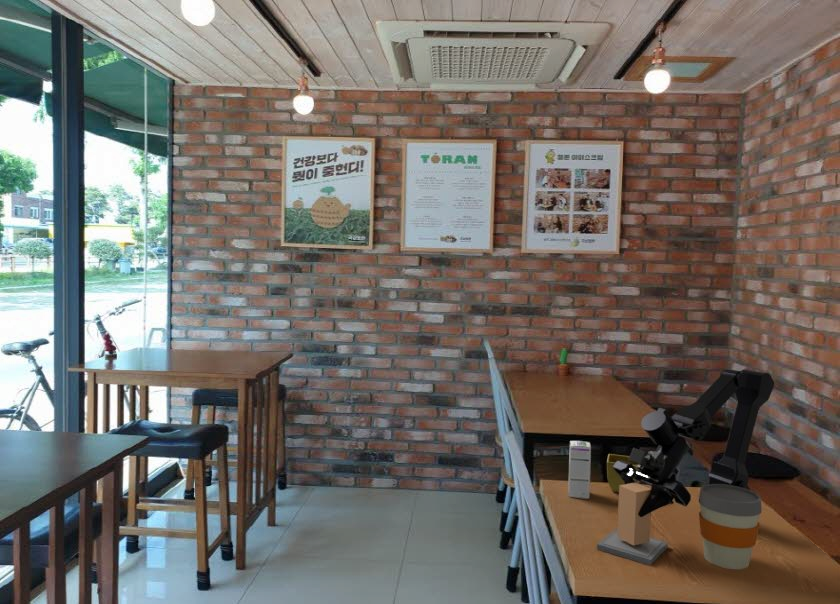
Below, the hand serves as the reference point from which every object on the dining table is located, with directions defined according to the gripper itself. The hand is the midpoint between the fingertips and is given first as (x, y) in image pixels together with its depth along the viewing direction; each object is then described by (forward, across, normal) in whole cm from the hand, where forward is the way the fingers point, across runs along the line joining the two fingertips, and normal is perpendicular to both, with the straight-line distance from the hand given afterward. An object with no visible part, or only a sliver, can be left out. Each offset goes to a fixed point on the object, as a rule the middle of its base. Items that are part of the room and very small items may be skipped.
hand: (630, 511), depth 148 cm
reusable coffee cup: (-5, +13, +18) cm, 23 cm away
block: (+4, 0, +6) cm, 7 cm away
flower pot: (-14, -30, +27) cm, 42 cm away
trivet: (+5, 0, +7) cm, 9 cm away
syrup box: (-4, -32, +16) cm, 36 cm away
